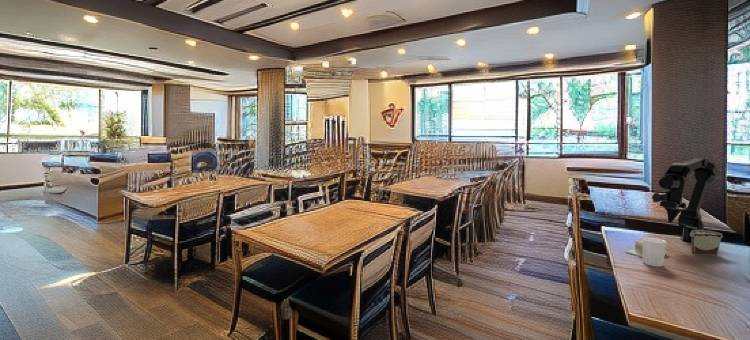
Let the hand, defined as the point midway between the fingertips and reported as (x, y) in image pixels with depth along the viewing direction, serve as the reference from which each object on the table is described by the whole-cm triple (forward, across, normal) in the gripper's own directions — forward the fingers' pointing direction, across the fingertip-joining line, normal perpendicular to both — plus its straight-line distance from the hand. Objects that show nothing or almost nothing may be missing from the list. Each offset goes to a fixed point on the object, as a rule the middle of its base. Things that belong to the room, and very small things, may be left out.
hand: (669, 222), depth 180 cm
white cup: (+15, +34, +4) cm, 38 cm away
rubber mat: (+14, +21, -2) cm, 26 cm away
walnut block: (+10, +14, 0) cm, 17 cm away
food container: (+11, 0, +13) cm, 17 cm away
